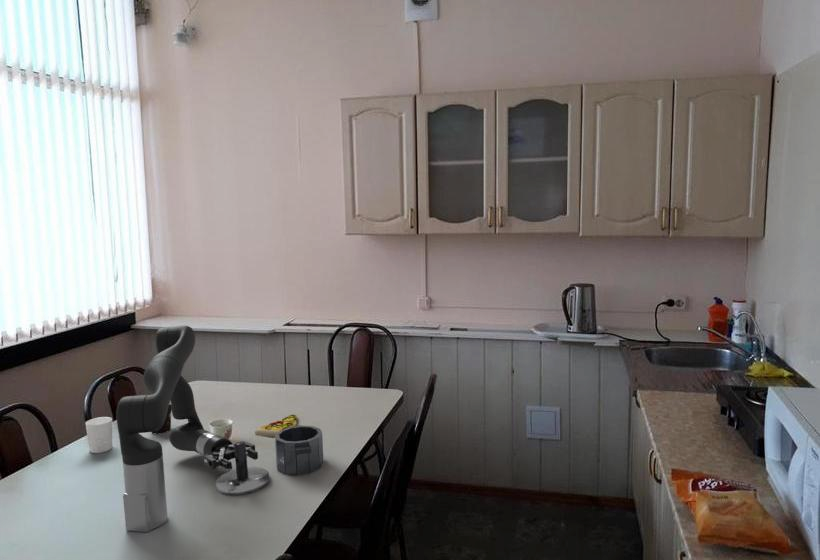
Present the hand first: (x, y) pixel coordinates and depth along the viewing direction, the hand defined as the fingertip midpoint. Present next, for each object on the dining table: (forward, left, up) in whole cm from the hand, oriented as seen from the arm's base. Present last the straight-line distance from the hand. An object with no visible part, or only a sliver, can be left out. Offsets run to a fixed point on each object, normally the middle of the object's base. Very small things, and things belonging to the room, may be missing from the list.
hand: (244, 461), depth 169 cm
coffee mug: (+37, +51, -7) cm, 63 cm away
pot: (+15, -11, -7) cm, 20 cm away
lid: (+1, +1, -7) cm, 7 cm away
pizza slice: (+45, +7, -8) cm, 46 cm away
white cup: (+17, +61, -7) cm, 64 cm away
